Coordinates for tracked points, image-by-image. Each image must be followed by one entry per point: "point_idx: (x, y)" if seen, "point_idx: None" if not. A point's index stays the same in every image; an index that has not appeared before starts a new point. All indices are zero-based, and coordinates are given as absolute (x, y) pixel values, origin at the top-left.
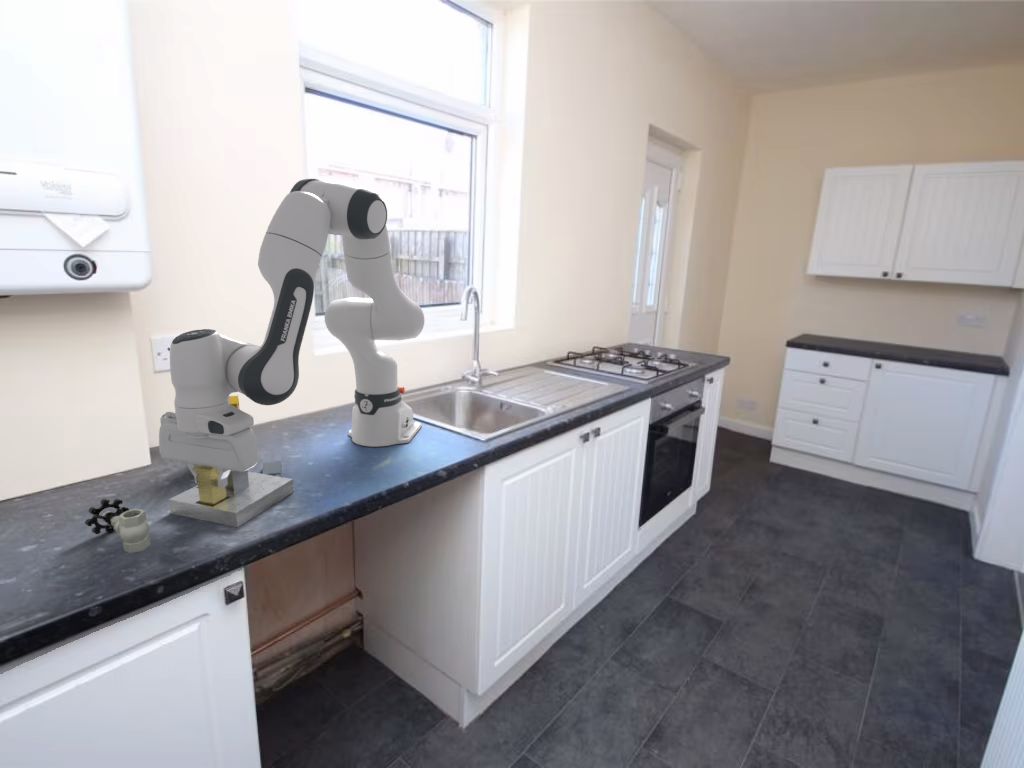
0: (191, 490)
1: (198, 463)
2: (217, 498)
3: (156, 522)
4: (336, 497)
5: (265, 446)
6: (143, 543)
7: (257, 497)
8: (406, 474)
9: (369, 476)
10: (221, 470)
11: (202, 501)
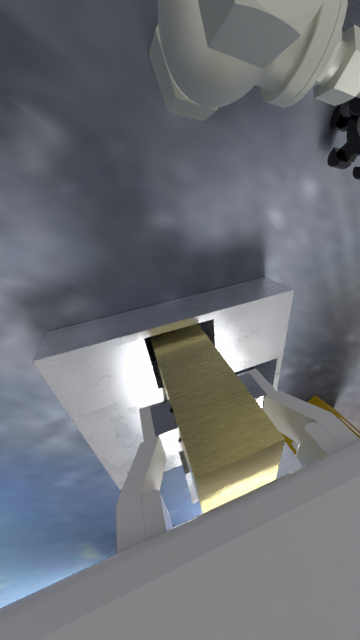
0: (275, 346)
1: (285, 488)
2: (158, 366)
3: (262, 229)
4: (19, 499)
5: (288, 460)
6: (157, 50)
7: (91, 427)
8: (14, 574)
9: (61, 539)
10: (126, 519)
11: (194, 334)
